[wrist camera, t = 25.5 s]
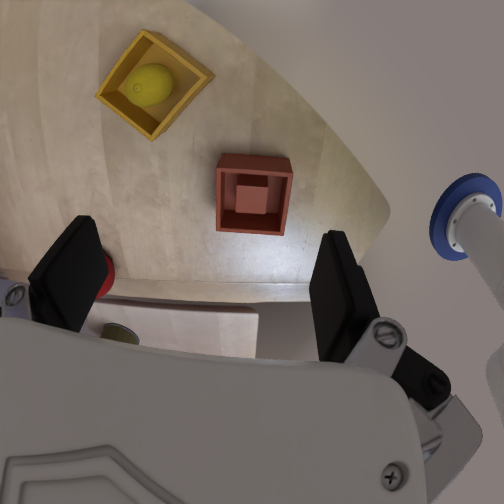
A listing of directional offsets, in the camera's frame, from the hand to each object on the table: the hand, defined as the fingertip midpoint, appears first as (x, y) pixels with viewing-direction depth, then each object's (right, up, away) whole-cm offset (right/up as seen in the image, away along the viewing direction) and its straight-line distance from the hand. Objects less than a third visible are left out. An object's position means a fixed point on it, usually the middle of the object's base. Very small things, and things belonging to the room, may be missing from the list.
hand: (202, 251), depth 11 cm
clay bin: (+2, +10, +28) cm, 30 cm away
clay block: (+2, +9, +28) cm, 30 cm away
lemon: (-10, +22, +19) cm, 30 cm away
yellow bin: (-10, +22, +19) cm, 31 cm away
